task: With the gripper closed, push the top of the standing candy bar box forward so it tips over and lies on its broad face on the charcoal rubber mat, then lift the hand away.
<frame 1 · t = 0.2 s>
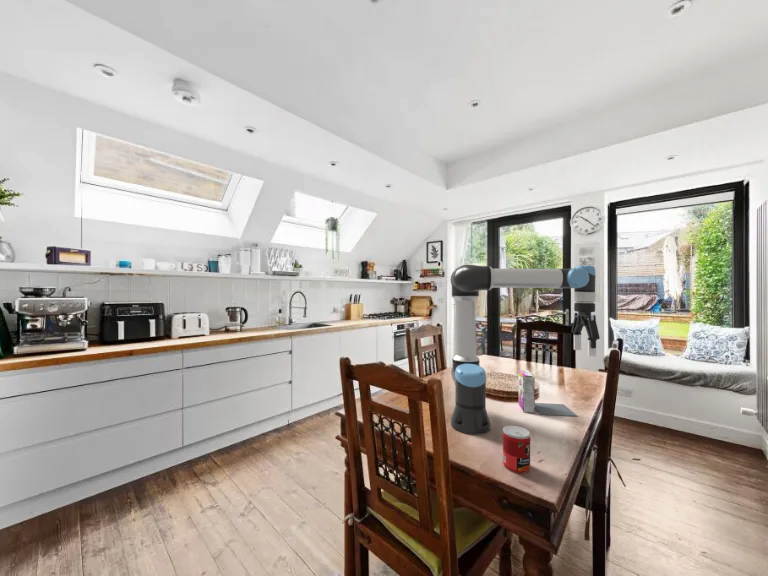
hand: (584, 353, 135), 28 cm above the table, fingers open, 13 cm apart
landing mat: (552, 409, 146), on the table
canned food: (516, 467, 99), on the table
candy bar box: (526, 408, 147), on the table
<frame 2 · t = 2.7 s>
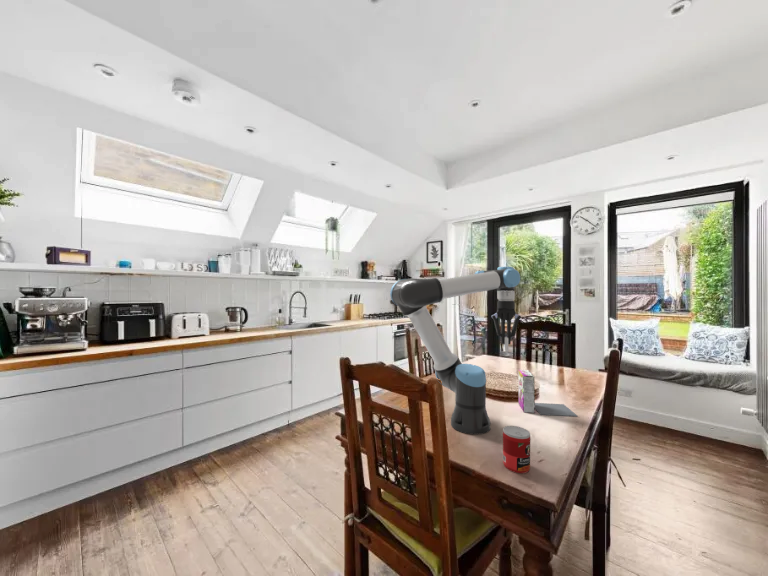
hand: (505, 351, 148), 26 cm above the table, fingers closed
nothing on the table moved.
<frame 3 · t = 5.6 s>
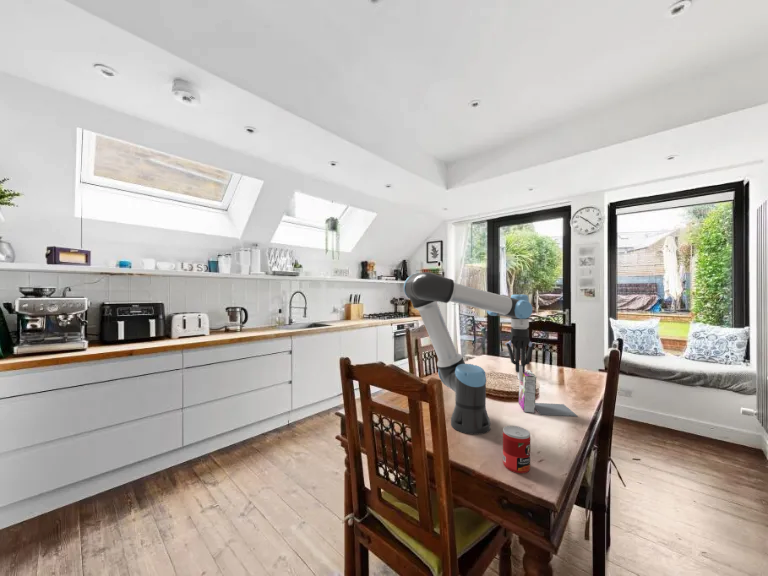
hand: (520, 379, 148), 13 cm above the table, fingers closed
candy bar box: (526, 408, 147), on the table, touching gripper
everything else where it was.
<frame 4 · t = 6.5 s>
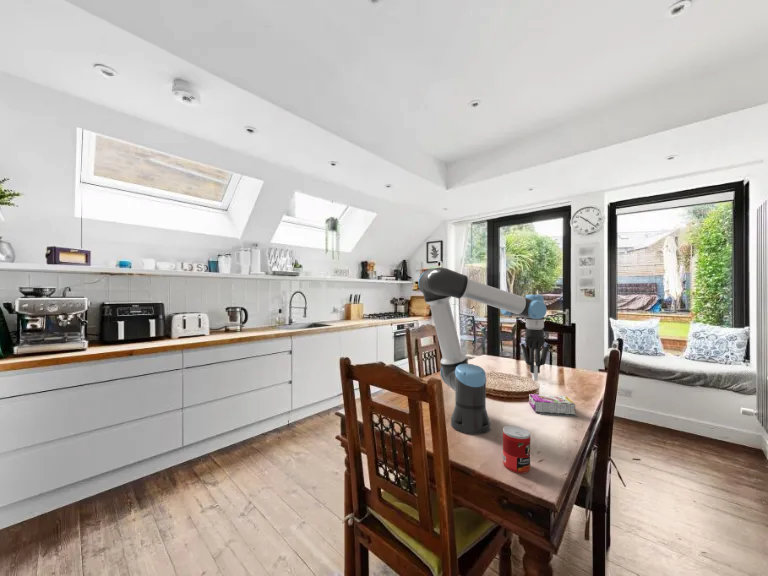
hand: (534, 380, 147), 13 cm above the table, fingers closed
candy bar box: (531, 402, 147), point 3 cm above the table, touching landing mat
everything else where it was.
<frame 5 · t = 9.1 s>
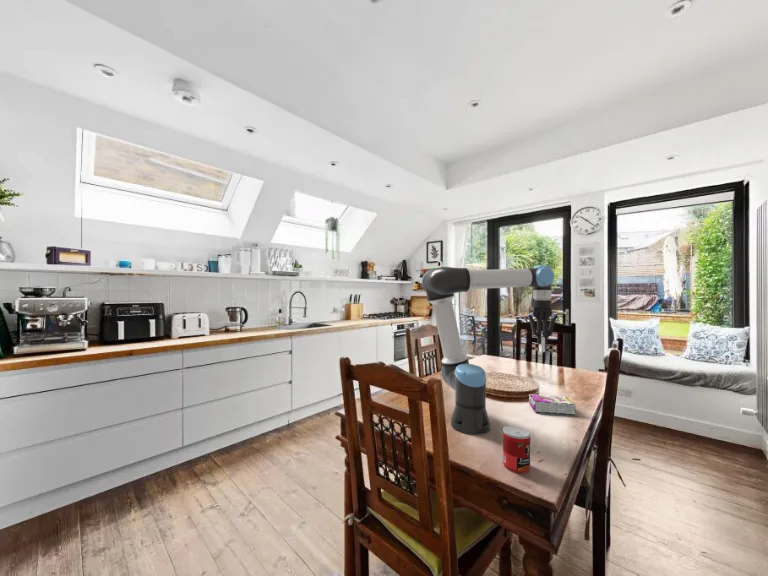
hand: (542, 351, 146), 26 cm above the table, fingers closed
nothing on the table moved.
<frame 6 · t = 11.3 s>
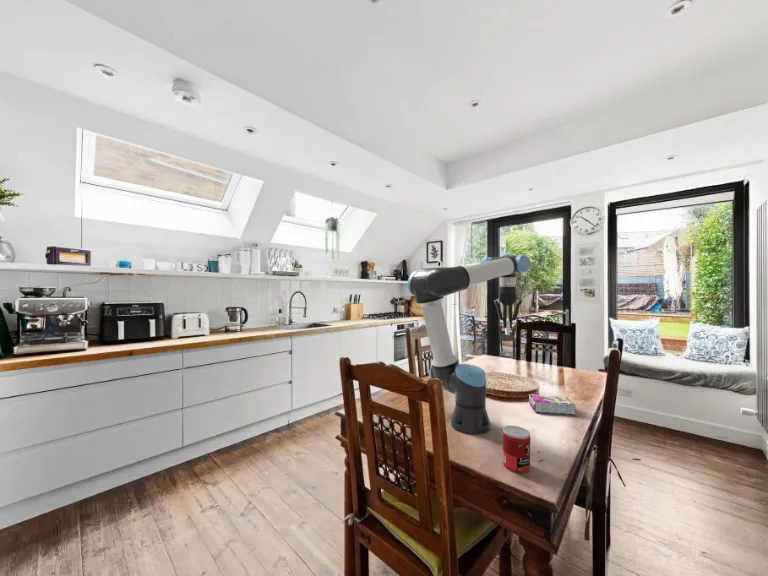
hand: (507, 334, 157), 32 cm above the table, fingers closed
nothing on the table moved.
at the end: candy bar box tilted 91°; candy bar box touching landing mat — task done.
